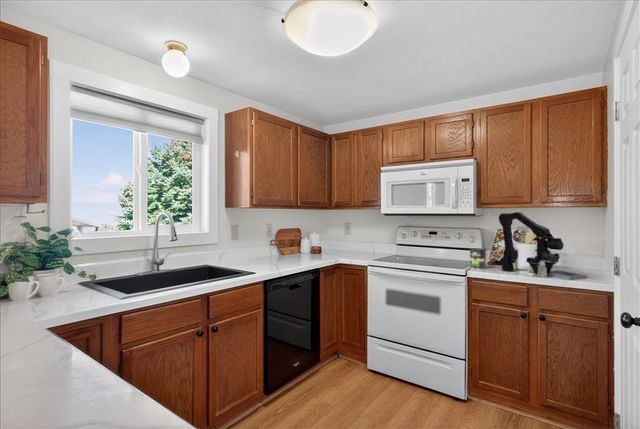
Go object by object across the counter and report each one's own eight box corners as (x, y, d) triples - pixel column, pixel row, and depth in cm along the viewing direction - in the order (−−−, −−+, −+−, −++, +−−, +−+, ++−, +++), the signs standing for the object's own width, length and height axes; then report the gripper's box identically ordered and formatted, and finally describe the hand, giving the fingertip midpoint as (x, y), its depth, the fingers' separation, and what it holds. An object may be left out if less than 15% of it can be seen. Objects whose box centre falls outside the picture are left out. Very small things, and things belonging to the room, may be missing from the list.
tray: (541, 276, 207) (541, 271, 207) (558, 274, 210) (558, 270, 210) (569, 281, 190) (569, 276, 190) (587, 280, 193) (587, 275, 193)
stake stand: (517, 275, 210) (517, 264, 210) (531, 274, 213) (531, 263, 213) (533, 278, 199) (533, 266, 199) (547, 277, 202) (547, 266, 202)
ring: (520, 273, 209) (520, 265, 209) (531, 272, 212) (531, 264, 212) (538, 277, 197) (538, 268, 197) (550, 276, 199) (550, 267, 199)
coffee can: (482, 270, 227) (482, 250, 227) (467, 268, 235) (467, 248, 235) (488, 268, 234) (488, 249, 234) (473, 266, 242) (473, 247, 242)
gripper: (542, 250, 189) (542, 277, 189) (567, 249, 194) (567, 275, 194) (525, 248, 200) (525, 273, 200) (549, 247, 205) (549, 272, 205)
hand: (542, 274), depth 199 cm, fingers open, 9 cm apart
